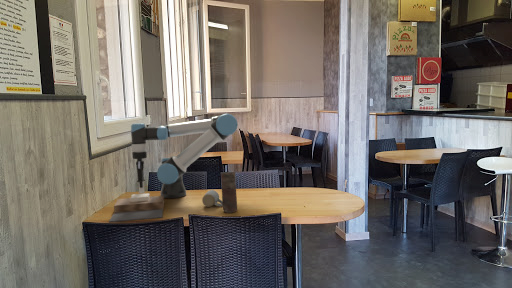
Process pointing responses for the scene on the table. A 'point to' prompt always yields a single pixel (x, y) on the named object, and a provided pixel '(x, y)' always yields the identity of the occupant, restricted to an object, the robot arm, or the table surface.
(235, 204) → the brown rectangular block
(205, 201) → the ceramic mug
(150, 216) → the mat
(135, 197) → the tile
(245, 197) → the table surface
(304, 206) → the table surface
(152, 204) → the riser
